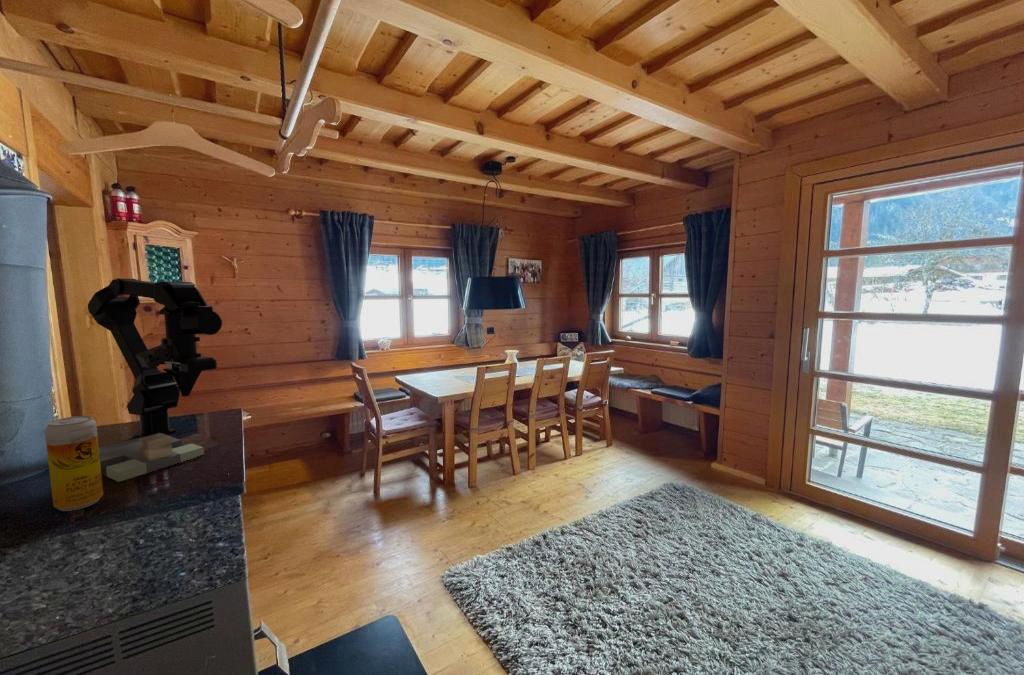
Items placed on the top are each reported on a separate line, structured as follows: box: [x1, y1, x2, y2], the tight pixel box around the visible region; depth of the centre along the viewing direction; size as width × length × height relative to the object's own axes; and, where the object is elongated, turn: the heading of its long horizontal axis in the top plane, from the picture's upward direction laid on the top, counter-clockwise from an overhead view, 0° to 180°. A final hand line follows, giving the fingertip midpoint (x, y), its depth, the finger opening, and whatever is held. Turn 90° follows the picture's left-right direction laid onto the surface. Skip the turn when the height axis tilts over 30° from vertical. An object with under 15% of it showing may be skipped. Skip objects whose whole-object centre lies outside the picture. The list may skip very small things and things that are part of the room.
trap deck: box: [99, 433, 205, 483], centre depth 93 cm, size 20×15×2 cm
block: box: [139, 434, 173, 461], centre depth 90 cm, size 4×4×4 cm
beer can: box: [44, 415, 104, 512], centre depth 73 cm, size 6×6×15 cm
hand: (185, 396), depth 105 cm, fingers closed
